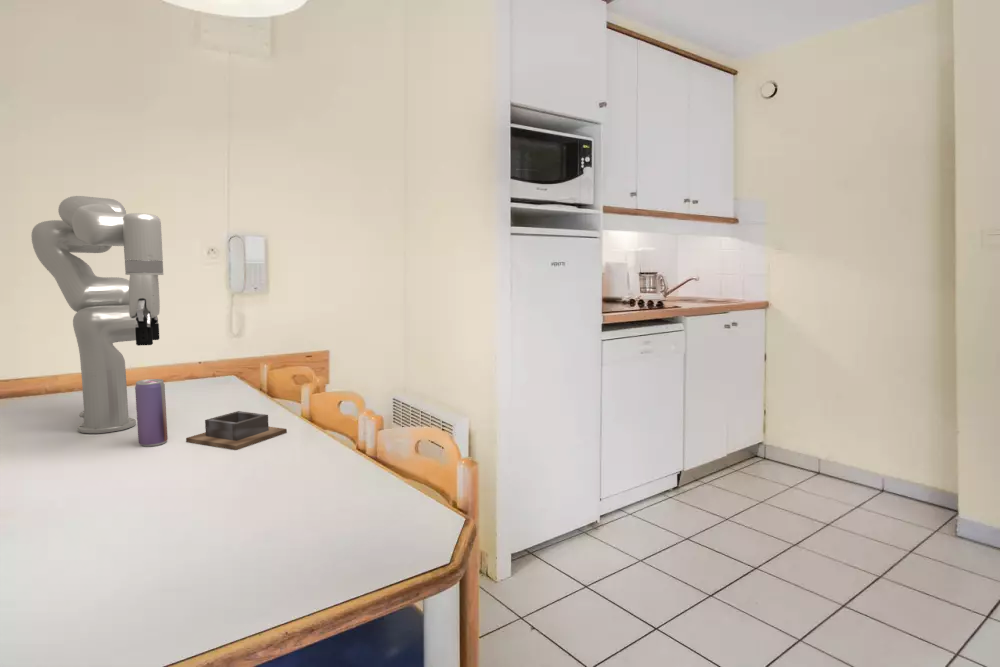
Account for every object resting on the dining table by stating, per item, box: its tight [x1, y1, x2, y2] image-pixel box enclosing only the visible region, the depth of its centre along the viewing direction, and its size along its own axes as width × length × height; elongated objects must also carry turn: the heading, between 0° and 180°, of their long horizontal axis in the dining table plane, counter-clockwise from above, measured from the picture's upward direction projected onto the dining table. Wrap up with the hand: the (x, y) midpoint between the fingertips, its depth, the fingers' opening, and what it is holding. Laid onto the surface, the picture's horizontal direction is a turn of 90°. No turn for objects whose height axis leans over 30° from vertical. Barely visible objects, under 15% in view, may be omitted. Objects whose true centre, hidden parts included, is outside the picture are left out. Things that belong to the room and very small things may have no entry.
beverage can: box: [134, 378, 169, 448], centre depth 139 cm, size 6×6×15 cm
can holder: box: [185, 410, 288, 451], centre depth 145 cm, size 16×16×5 cm
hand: (148, 342), depth 138 cm, fingers open, 9 cm apart
